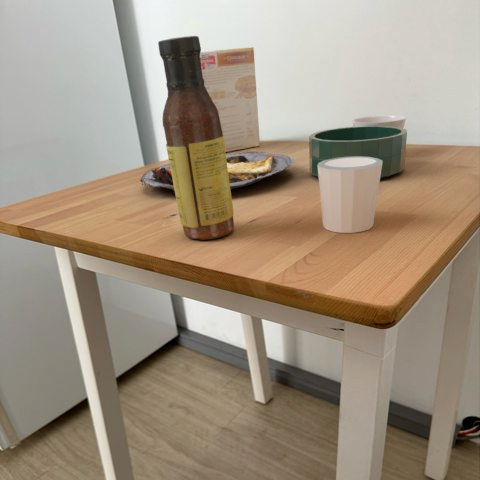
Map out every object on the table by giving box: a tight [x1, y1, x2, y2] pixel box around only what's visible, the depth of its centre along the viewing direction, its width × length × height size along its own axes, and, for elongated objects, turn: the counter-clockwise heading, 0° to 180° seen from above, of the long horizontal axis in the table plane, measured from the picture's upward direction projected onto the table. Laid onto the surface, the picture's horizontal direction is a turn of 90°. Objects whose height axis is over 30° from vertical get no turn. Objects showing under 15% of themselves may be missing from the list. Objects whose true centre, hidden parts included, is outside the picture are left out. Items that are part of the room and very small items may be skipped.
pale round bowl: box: [352, 114, 407, 129], centre depth 84 cm, size 9×9×6 cm
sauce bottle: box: [157, 35, 235, 241], centre depth 51 cm, size 7×6×20 cm
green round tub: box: [308, 126, 408, 180], centre depth 75 cm, size 15×15×6 cm
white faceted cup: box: [317, 156, 382, 234], centre depth 52 cm, size 7×7×7 cm
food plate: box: [139, 151, 295, 192], centre depth 78 cm, size 25×23×4 cm
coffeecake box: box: [200, 46, 261, 153], centre depth 101 cm, size 15×7×20 cm, turn 120°
